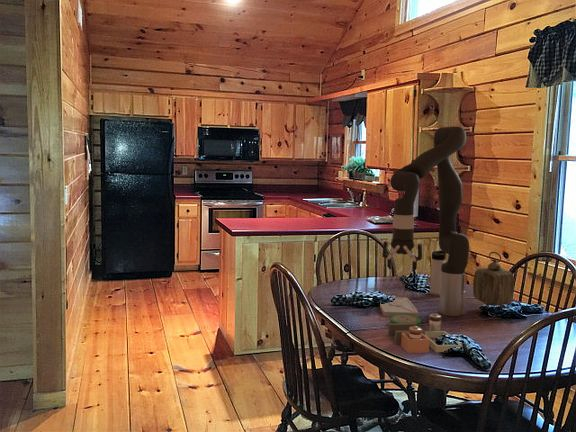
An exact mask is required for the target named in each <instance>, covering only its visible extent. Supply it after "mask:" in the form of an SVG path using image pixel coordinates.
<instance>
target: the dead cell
mask: <svg viewBox="0 0 576 432" xmlns="http://www.w3.org/2000/svg"><path fill="white" fill-rule="evenodd" d="M422 330H423V329H422V327H421V326H420V327H418V326H412V327H409V339H421V336H422Z"/></svg>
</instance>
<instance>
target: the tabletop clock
mask: <svg viewBox="0 0 576 432" xmlns="http://www.w3.org/2000/svg"><path fill="white" fill-rule="evenodd" d="M492 254H495V255H497V256H498V257H499V260H497V259H496V258H493V259H492V258H491V255H492ZM488 258H489V260H490V261H491V263H489V264H488V265H487V267H480V268H477V269H476V270H475V272H474V277H473V285H472V286H473V287H472V288H473V297H474V298H475V300H478V301H480V302H482V303H483V304H485V305H487V307H485V309H487V308H488V309H489V307H490V306H492V307H495V306H499V307H501V309H502V308H504V306H505V305H511V304H512V302H513V300H514V299H513V298H514V292H515V279H514V278H515V277H514V274H513V273H512V272H511V271H509V270H508V269H507V270H506V269H505V268H502V267H501V265H500V262H501V261H502V256H501V254H500V253H498V252H497V251H490V253H489V254H488ZM485 309H484V310H485ZM504 309H505V308H504Z"/></svg>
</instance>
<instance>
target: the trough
mask: <svg viewBox="0 0 576 432" xmlns="http://www.w3.org/2000/svg"><path fill="white" fill-rule="evenodd" d="M443 334H444V335H448V336H449V337H450V336H451V335H450V334H449V333H448V332H447V331H446V330H440V331H429V330H428V331H425V336H426V337H427V338H429V348H431V349H432V350H433V351H435V353H445V352H444V351H446V350H448V349H450V348H454V347H462V348H463V344H461V343H460V342H459V341H458V340H457V341H455V340H456V339H455V340H454V341H455V342H456V343H457V344H458V345H452V344H437V343H436V342H435V341H434V340H433V338H436V339H437V337H439V336H441V335H443Z"/></svg>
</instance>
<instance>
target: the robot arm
mask: <svg viewBox="0 0 576 432" xmlns="http://www.w3.org/2000/svg"><path fill="white" fill-rule="evenodd" d="M466 142H467V134H466V131H465V129H464V128H463V127H461V126H443V127H441V126H440V127H437V128H436V130H435V132H434V133H433V148H430V149H428V150H426V151H424V152H422V153H421V154H420V155H418V156H417V157H416V158H414V160H412V161H411V162H410V163H409V164H407V165H405V166H403V167H401V168H399V169H397V170H396V171H395V172H393V174H392V175H391V177H390V180H389V185H390V187H391V188H392V189H393V190H394V191H397V192H404V193H403V196H402V197H398V198H396V199H395V200H394V203H393V219H392V240H391V241H388V240H384V242H383V244H382V245H383V247H382V258H385V259H386V260H387V263H386V266H387V268H388V270H392V269H393V258H392V257H394V256H395V254H397V255H408V256H409V257H410V259H411V260H412V264H411V267H412V269H411V270H412V272H415V271H416V270H417V269H418V267H417V266H418V261H422V259H423V244H422V242H419V243H414V242H415V241H414V235H415V234H414V230H415V228H414V227H415V220H414V219H415V218H414V217H415V216H414V213H415V212H414V211H415V208H414V207H415V206H414V205H415V201H416V200H417V199H416V198H417V195H418V192H419V188H420V184H421V181H420V180H421V179H423V178H424V177H426V176H427V175H428V174H429V173H430V172H431V171H432V170H433V169H434V168H435V167H436V166H437V167H436V169H437V182H438V183H437V189H438V191H437V192H438V194H437V195H438V205H439V206H438V207H439V208H438V210H439V227H438V229H439V230H438V246H439V250H440V251H443V252H444V253H446V255H447V254H448V258H447V261H446V262H445V263H443V264H442V266H441V283H440V296H439V303H438V305H439V306H438V312H439V313H440V315H441V314H442V315H444V316H450V317H458V316H462V315H465V313H466V312H465V311H466V309H465V308H466V294H467V293H466V291H465V276H466V275H465V272H466V268H467V266H468V263H469V255H470V254H469V253H470V242H469V241H470V240H469V238H468V237H467V236H466V235H465V234H463V233H460V232H457V226H456V222H457V221H456V220H457V215H458V213H459V211H460V208H461V206H462V203H463V200H464V197H463V192H464V191H463V182H462V180H461V178H460V176H459V174H458V173H457V171H456V169H455V168H454V166H453V164H452V161H451V157H450V156H451V155H453V154H456V152H458V151H460V150H461V149H463V147H464V146H465V144H466ZM390 246H391V248H392V251H391V252H390V253H389V254H388V249H389V247H390ZM413 248H415V250H417V256H416V254H415V252H414V250H413Z"/></svg>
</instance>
